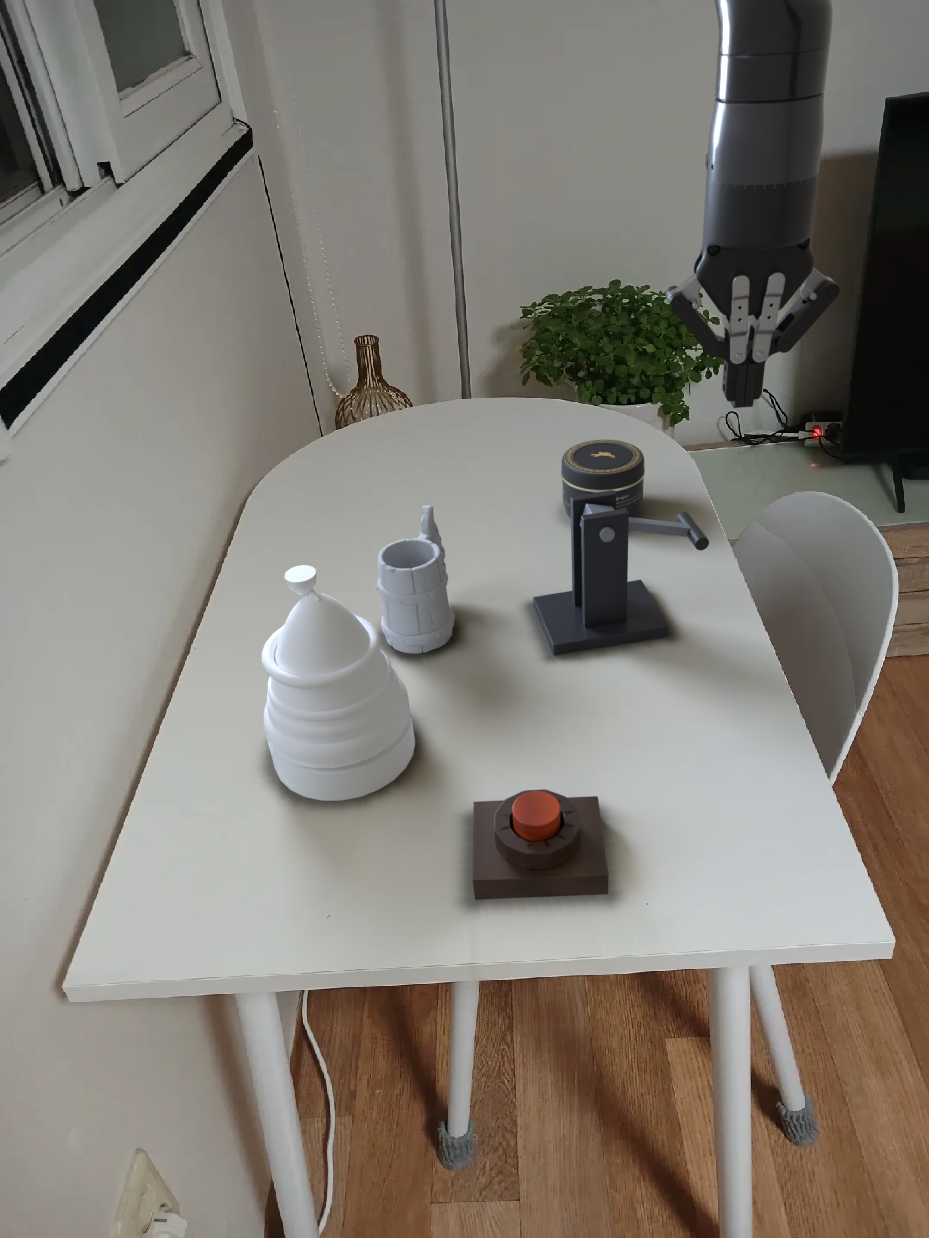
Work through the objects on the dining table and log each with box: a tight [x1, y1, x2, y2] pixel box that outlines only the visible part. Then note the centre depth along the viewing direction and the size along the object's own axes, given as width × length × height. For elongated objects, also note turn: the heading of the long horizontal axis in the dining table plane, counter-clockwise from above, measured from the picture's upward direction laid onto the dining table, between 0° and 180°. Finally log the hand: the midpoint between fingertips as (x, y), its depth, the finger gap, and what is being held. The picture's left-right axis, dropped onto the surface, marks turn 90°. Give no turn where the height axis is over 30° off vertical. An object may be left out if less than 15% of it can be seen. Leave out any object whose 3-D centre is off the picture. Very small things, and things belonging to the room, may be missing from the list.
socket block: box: [472, 788, 609, 901], centre depth 73 cm, size 10×8×4 cm
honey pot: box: [261, 564, 416, 802], centre depth 81 cm, size 13×13×18 cm
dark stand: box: [532, 490, 670, 656], centre depth 96 cm, size 12×9×14 cm
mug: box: [376, 505, 456, 655], centre depth 98 cm, size 8×12×12 cm, turn 162°
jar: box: [560, 439, 646, 519], centre depth 116 cm, size 10×10×8 cm
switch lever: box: [580, 504, 710, 551], centre depth 94 cm, size 12×6×2 cm, turn 99°
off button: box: [512, 791, 561, 842], centre depth 72 cm, size 4×4×2 cm
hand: (741, 403), depth 76 cm, fingers closed
